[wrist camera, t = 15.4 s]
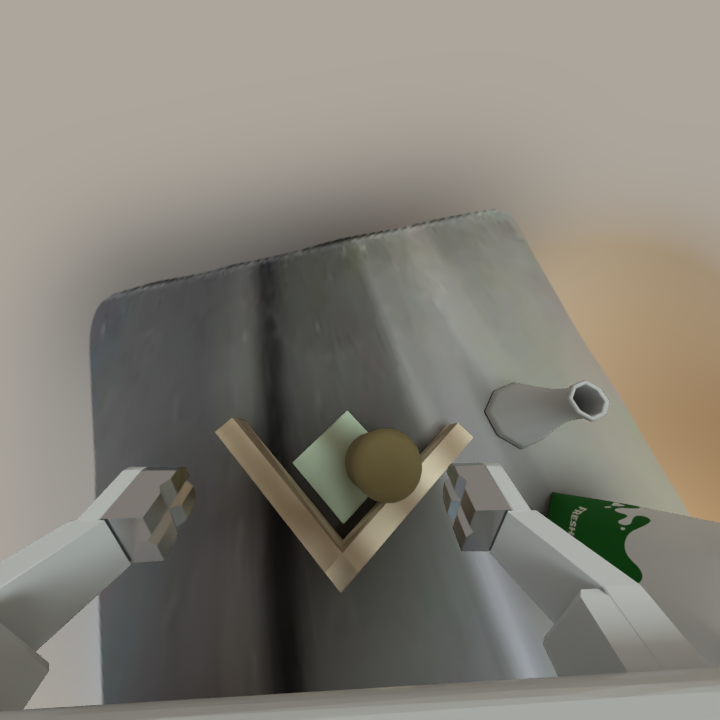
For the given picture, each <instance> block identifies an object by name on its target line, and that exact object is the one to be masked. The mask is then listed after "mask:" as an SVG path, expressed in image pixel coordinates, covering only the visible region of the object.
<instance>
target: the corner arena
mask: <svg viewBox="0 0 720 720" xmlns="http://www.w3.org/2000/svg"><path fill="white" fill-rule="evenodd" d="M215 433H216V434H217V435H218V436H219V438H220V439H221V440H222V442H223V443H224V444H225V445H226V447H227V448H228V449H229V451H230V452H231V453H232V454H233V456H234V457H235V458H236V460H237V461H238V462H239V463H240V465H241V466H242V467H243V468H244V470H245V471H246V472H247V474H248V475H249V476H250V477H251V479H252V480H253V481H254V483H255V484H256V485H257V486H258V488H259V489H260V490H261V492H262V493H263V494H264V495H265V497H266V498H267V499H268V500H269V502H270V503H271V504H272V506H273V507H274V508H275V509H276V511H277V512H278V513H279V515H280V516H281V517H282V518H283V520H284V521H285V522H286V524H287V525H288V526H289V527H290V529H291V530H292V531H293V532H294V534H295V535H296V536H297V538H298V539H299V540H300V541H301V543H302V544H303V545H304V547H305V548H306V549H307V550H308V552H309V553H310V554H311V556H312V557H313V558H314V559H315V561H316V562H317V563H318V565H319V566H320V567H321V568H322V570H323V571H324V572H325V573H326V575H327V576H328V577H329V579H330V580H331V581H332V582H333V584H334V585H335V586H336V588H337V589H338V590H339V591H340V593H341V592H342V591H343V590H344V589H345V588H346V587H347V585H348V584H349V583H350V582H351V581H352V580H353V578H354V577H355V576H356V575H357V574H358V572H359V571H360V570H361V569H362V568H363V567H364V565H365V564H366V563H367V562H368V561H369V560H370V558H371V557H372V556H373V555H374V554H375V552H376V551H377V550H378V549H379V548H380V547H381V545H382V544H383V543H384V542H385V541H386V540H387V538H388V537H389V536H390V535H391V534H392V532H393V531H394V530H395V529H396V528H397V527H398V525H399V524H400V523H401V522H402V521H403V520H404V518H405V517H406V516H407V515H408V514H409V512H410V511H411V510H412V509H413V508H414V507H415V505H416V504H417V503H418V502H419V501H420V500H421V498H422V497H423V496H424V495H425V494H426V492H427V491H428V490H429V489H430V488H431V487H432V485H433V484H434V483H435V482H436V481H437V480H438V478H439V477H440V476H441V475H442V474H443V472H444V471H445V470H446V469H447V468H448V466H449V465H450V464H451V463H452V462H453V461H454V460H455V458H456V457H457V456H458V455H459V454H460V452H461V451H462V450H463V449H464V448H465V447H466V445H467V444H468V443H469V442H470V441H471V440H472V438H473V437H472V436H471V435H470V434H469V433H468V432H467V431H466V430H465V429H464V428H463V427H462V426H461V425H460V424H459V423H455V424H451V425H446V426H445V427H444V428H443V429H442V431H441V432H440V433H439V434H438V435H437V436H436V437H435V438H434V439H433V441H432V442H431V443H430V444H429V445H428V446H427V447H426V448H425V449H424V451H423V452H422V453H421V454H420V456H421V460H422V473H421V478H420V482H419V483H418V485H417V487H416V489H415V490H414V492H412V493H411V494H410V495H409V496H408V497H407V498H405V499H404V500H401V501H398V502H396V503H380V502H377V503H376V504H375V505H374V506H373V507H372V508H371V509H370V511H369V512H368V513H367V514H366V515H365V516H364V517H363V518H362V519H361V521H360V522H359V523H358V524H357V525H356V526H355V527H354V528H353V529H352V531H351V532H350V533H349V534H348V535H347V536H346V537H345V538H344V539H342V538H341V537H340V536H339V534H338V533H337V532H336V531H335V530H334V528H333V527H332V526H331V525H330V523H329V522H328V521H327V520H326V519H325V517H324V516H323V515H322V514H321V513H320V511H319V510H318V509H317V508H316V506H315V505H314V504H313V503H312V502H311V500H310V499H309V498H308V497H307V495H306V494H305V493H304V492H303V491H302V489H301V488H300V487H299V486H298V485H297V483H296V482H295V481H294V480H293V478H292V477H291V476H290V475H289V474H288V472H287V471H286V470H285V469H284V467H283V466H282V465H281V464H280V463H279V461H278V460H277V459H276V458H275V456H274V455H273V454H272V453H271V452H270V450H269V449H268V448H267V447H266V446H265V444H264V443H263V442H262V441H261V439H260V438H259V437H258V436H257V435H256V433H255V432H254V431H253V430H252V428H251V427H250V426H249V425H248V424H247V422H246V421H243V420H240V419H236V418H231V419H230V420H229V421H228V422H226V423H225V424H224V425H223V426H222V427H220V428H219V429H218V430H217V431H216V432H215ZM365 433H368V432H367V431H366V430H365V429H364V428H363V427H362V426H361V425H360V423H359V422H358V421H357V420H356V419H355V418H354V417H353V416H352V415H351V414H350V413H349V412H348V411H346V412H345V413H344V414H343V415H342V416H341V417H340V418H339V419H338V420H337V421H336V422H335V423H334V424H333V425H332V426H330V427H329V428H328V429H327V430H326V431H325V432H324V433H323V434H322V435H321V436H320V437H319V438H318V439H317V440H316V441H315V442H314V443H313V444H312V445H311V446H309V447H308V448H307V449H306V450H305V451H304V452H303V453H302V454H301V455H300V456H299V457H298V458H297V459H296V460H295V461H294V462H293V464H294V465H295V467H296V468H297V469H298V470H299V471H300V473H301V474H302V475H303V476H304V477H305V479H306V480H307V481H308V482H309V483H310V485H311V486H312V487H313V488H314V489H315V491H316V492H317V493H318V494H319V495H320V497H321V498H322V499H323V500H324V501H325V503H326V504H327V505H328V506H329V507H330V509H331V510H332V511H333V512H334V513H335V515H336V516H337V517H338V518H339V519H340V521H341V522H342V523H343V524H344V523H345V522H346V521H347V520H348V519H349V518H350V517H351V516H352V514H353V513H354V512H355V511H356V510H357V509H358V508H359V507H360V506H361V505H362V503H363V502H364V501H365V500H366V499H367V498H368V496H367V495H366V494H364V493H363V492H362V491H361V489H360V488H358V487H357V486H356V485H355V484H354V483H353V482H352V481H351V479H350V478H349V476H348V474H347V471H346V467H345V456H346V453H347V450H348V447H349V446H350V444H351V443H352V442H353V440H355V439H356V438H357V437H359V436H360V435H362V434H365Z"/></svg>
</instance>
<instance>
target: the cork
mask: <svg viewBox="0 0 720 720" xmlns="http://www.w3.org/2000/svg"><path fill="white" fill-rule="evenodd" d="M345 467H346V471H347V474H348V476H349V478H350V479H351V481H352V482H353V483H354V484H355V485H356V486H357V487H358V488H360V489H361V491H362V492H363V493H364V494H366V495H367V496H368V497H369V498H371V499H372V500H375V501H378V502H380V503H396V502H398V501H401V500H404V499H405V498H407V497H408V496H409V495H410V494H411V493H412V492H414V490H415V489H416V487H417V485H418V483H419V482H420V478H421V473H422V460H421V456H420V454H419V451H418V448H417V447H416V445H415V444H414V443H413V441H412V440H411V439H410V438H409V437H408V436H406V435H405V434H404V433H402V432H400V431H398V430H395V429H392V428H380V429H377V430H374V431H371V432H369V433H365V434H362V435H360V436H359V437H357V438H356V439H355V440H353V442H352V443H351V444H350V446H349V447H348V450H347V453H346V456H345Z"/></svg>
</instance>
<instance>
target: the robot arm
mask: <svg viewBox="0 0 720 720" xmlns="http://www.w3.org/2000/svg"><path fill="white" fill-rule="evenodd" d="M447 474H448V476H449V478H448V479H447V480H446V481H445V482H444V486H443V499H444V504H445V507H446V510H447V513H448V514H449V515H450V516H451V517H452V518H453V519H454V520H455V522H454V526H453V530H454V532H455V535H456V538H457V541H458V543H459V546H460V549H461V551H490V554H491V555H492V556H493V557H494V558H495V559H496V560H497V561H498V562H499V563H500V565H501V566H502V567H503V568H504V569H505V570H506V571H507V572H508V573H509V574H510V575H511V577H512V578H513V579H514V580H515V581H516V582H517V583H518V584H519V585H520V586H521V587H522V589H523V590H524V591H525V592H526V593H527V594H528V595H529V596H530V597H531V598H532V600H533V601H534V602H535V603H536V604H537V605H538V606H539V607H540V608H541V609H542V610H543V612H544V613H545V614H546V615H547V616H548V617H549V618H550V619H551V620H552V621H553V622H554V626H553V627H552V628H551V629H550V631H549V632H548V633H547V635H546V636H545V638H544V642H543V645H544V647H545V649H546V651H547V654H548V656H549V658H550V660H551V662H552V664H553V666H554V668H555V671H556V673H557V675H558V677H546V678H529V679H513V680H497V681H481V682H464V683H448V684H432V685H416V686H399V687H383V688H367V689H350V690H334V691H318V692H302V693H285V694H269V695H253V696H237V697H220V698H204V699H188V700H172V701H155V702H139V703H123V704H107V705H90V706H76V707H58V708H42V709H26V710H23V709H24V707H25V706H26V704H27V703H28V701H29V700H30V698H31V697H32V695H33V694H34V692H35V691H36V689H37V688H38V686H39V685H40V683H41V682H42V680H43V679H44V677H45V676H46V674H47V673H48V671H49V663H48V662H47V661H46V660H44V659H43V658H42V657H41V656H40V655H39V654H37V653H36V651H37V650H38V649H39V648H40V647H41V646H42V645H43V644H44V643H46V642H47V641H48V640H49V639H50V638H51V637H52V636H53V635H54V634H55V633H57V631H59V630H60V629H61V628H62V627H63V626H64V625H65V624H66V623H67V622H69V621H70V620H71V619H72V618H73V617H74V616H75V615H76V614H77V613H78V612H80V610H82V609H83V608H84V607H85V606H86V605H87V604H88V603H89V602H90V601H92V600H93V599H94V598H95V597H96V596H97V595H98V594H99V593H100V592H101V591H103V590H104V589H105V588H106V587H107V586H108V585H109V584H110V583H111V582H112V581H113V580H115V579H116V578H117V577H118V576H119V575H120V574H121V573H122V572H123V571H124V570H126V569H127V568H128V567H129V566H130V565H131V563H132V562H148V561H164V560H165V558H166V556H167V555H168V553H169V551H170V549H171V547H172V546H173V544H174V542H175V540H176V538H177V537H178V530H177V527H178V526H179V525H181V524H182V523H183V522H184V521H186V520H187V518H188V516H189V515H190V513H191V511H192V508H193V504H194V501H195V491H194V488H193V486H192V485H191V484H190V483H188V482H187V481H186V480H187V479H188V477H189V473H188V471H187V469H186V468H184V467H129V468H127V469H125V470H123V471H122V472H121V473H120V474H119V476H118V477H117V478H116V479H115V480H114V481H113V482H112V483H111V484H110V485H109V486H108V487H107V488H106V489H105V490H104V492H103V493H102V494H101V495H100V496H99V497H98V498H97V499H96V500H95V501H94V502H93V503H92V504H91V505H90V506H89V508H88V509H87V510H86V511H85V512H84V513H83V514H82V515H81V516H80V517H79V518H78V519H77V520H76V521H69V522H67V523H66V524H64V525H62V526H60V527H59V528H57V529H55V530H54V531H52V532H50V533H49V534H47V535H46V536H44V537H42V538H40V539H39V540H37V541H35V542H33V543H32V544H30V545H28V546H27V547H25V548H23V549H22V550H20V551H18V552H16V553H15V554H13V555H11V556H10V557H8V558H7V559H5V560H3V561H1V562H0V720H720V667H709V666H708V665H707V664H706V663H705V662H704V660H703V659H702V658H701V657H700V656H699V654H698V653H697V652H696V651H695V650H694V648H693V647H692V646H691V645H690V644H689V642H688V641H687V640H686V639H685V638H684V636H683V635H682V634H681V633H680V632H679V630H678V629H677V628H676V627H675V626H674V624H673V623H672V622H671V621H670V620H669V618H668V617H667V616H666V615H665V614H664V612H663V611H662V610H661V609H660V608H659V606H658V605H657V604H656V603H655V602H654V600H653V599H652V598H651V597H650V596H649V594H648V593H647V592H646V591H645V590H644V588H643V587H642V586H641V585H640V584H638V583H637V582H636V581H634V580H633V579H631V578H630V577H629V576H627V575H626V574H624V573H623V572H622V571H620V570H619V569H617V568H616V567H615V566H613V565H612V564H610V563H609V562H608V561H606V560H605V559H603V558H602V557H601V556H599V555H598V554H596V553H595V552H594V551H592V550H591V549H589V548H588V547H587V546H585V545H584V544H582V543H581V542H580V541H578V540H577V539H575V538H574V537H573V536H571V535H570V534H568V533H567V532H566V531H564V530H563V529H562V528H560V527H559V526H557V525H556V524H555V523H553V522H552V521H550V520H549V519H548V518H546V517H545V516H543V515H542V514H541V513H539V512H538V511H536V510H531V509H530V508H529V506H528V505H527V503H526V502H525V500H524V499H523V498H522V496H521V495H520V493H519V492H518V490H517V489H516V487H515V486H514V484H513V483H512V481H511V480H510V478H509V477H508V475H507V474H506V472H505V471H504V469H503V468H502V466H501V465H500V464H498V463H455V464H450V465H449V466H448V470H447Z"/></svg>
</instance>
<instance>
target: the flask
mask: <svg viewBox="0 0 720 720" xmlns="http://www.w3.org/2000/svg"><path fill="white" fill-rule="evenodd" d="M609 403H610V401H609V399H608V398H607V397H606V395H605V394H604V392H603V391H602V389H601V388H600V387H598V386H596V385H595V384H593V383H591V382H589V381H587V380H583V381H581V382H578V383H576V384H574V385H572V386H570V387H569V388H566V389H548V388H541V387H535V386H530V385H525V384H520V383H512V384H509V385H507V386H505V387H502V388H500V389H498V390H495V391H494V392H493V395H492V397H491V399H490V402H489V404H488V406H487V408H486V411H485V413H486V414H487V416H488V418H489V420H490V422H491V424H492V426H493V427H494V429H495V431H496V433H497V435H498V436H500V437H501V438H503V439H505V440H506V441H508V442H510V443H512V444H513V445H515V446H517V447H518V448H520V449H523V448H525V447H527V446H529V445H532V444H534V443H536V442H538V441H540V440H542V439H544V438H545V437H547V436H548V435H549V434H550V433H552V432H553V431H554V430H555V429H557V428H558V427H560V426H561V425H563V424H564V423H566V422H568V421H571V420H575V419H582V418H584V419H586V420H588V421H595V420H597V419H599V418H601V417H603V416H605V415H606V414H607V411H608V407H609Z"/></svg>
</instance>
